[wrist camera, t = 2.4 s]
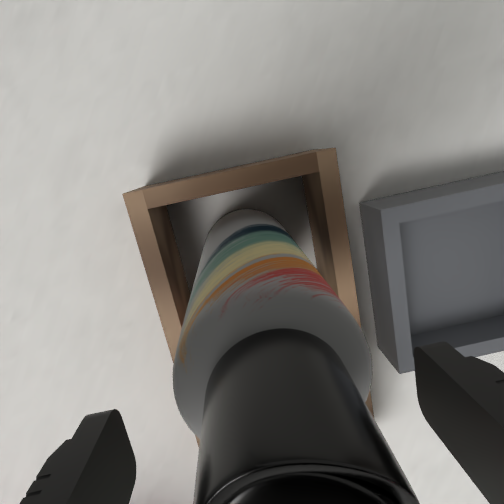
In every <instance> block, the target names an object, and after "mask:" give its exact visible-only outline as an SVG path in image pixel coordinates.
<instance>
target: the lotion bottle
mask: <svg viewBox="0 0 504 504" xmlns="http://www.w3.org/2000/svg"><path fill="white" fill-rule="evenodd" d="M371 380H372V361H371V355H370V350H369V347H368V344H367V341H366V338H365V336H364V334H363V332H362V330H361V328H360V326H359V325H358V323H357V321H356V320H355V319H354V317H353V316H352V314H351V313H350V311H349V310H348V309H347V307H346V306H345V305H344V304H343V302H342V301H341V300H340V298H339V297H338V296H337V295H336V293H335V292H334V291H333V289H332V288H331V287H330V286H329V284H328V283H327V282H326V281H325V279H324V278H323V277H322V276H321V274H320V273H319V272H318V271H317V269H316V268H315V267H314V265H313V264H312V263H311V262H310V260H309V259H308V258H307V257H306V255H305V254H304V253H303V252H302V250H301V249H300V248H299V247H298V245H297V244H296V243H295V242H294V240H293V239H292V238H291V236H290V235H289V234H288V233H287V231H286V230H285V229H284V228H283V227H282V225H281V224H280V223H279V222H278V221H277V220H275V219H274V218H273V217H271V216H270V215H268V214H266V213H264V212H261V211H258V210H252V209H243V210H237V211H234V212H231V213H229V214H227V215H225V216H224V217H222V218H221V219H220V220H218V221H217V222H216V224H215V225H214V226H213V227H212V229H211V230H210V232H209V234H208V236H207V239H206V241H205V245H204V248H203V252H202V255H201V259H200V263H199V266H198V270H197V274H196V278H195V281H194V285H193V289H192V292H191V296H190V300H189V303H188V307H187V311H186V314H185V318H184V322H183V325H182V329H181V333H180V337H179V341H178V345H177V349H176V354H175V360H174V365H173V389H174V395H175V400H176V403H177V406H178V409H179V411H180V414H181V415H182V417H183V419H184V421H185V422H186V424H187V425H188V427H189V428H190V429H191V430H192V432H193V433H194V434H195V435H196V436H197V437H198V438H199V439H200V445H199V455H198V464H197V473H196V482H195V492H194V501H193V504H419V501H418V499H417V497H416V495H415V493H414V491H413V489H412V487H411V485H410V483H409V481H408V480H407V478H406V476H405V474H404V472H403V471H402V469H401V467H400V465H399V463H398V461H397V460H396V458H395V456H394V454H393V452H392V451H391V449H390V447H389V445H388V443H387V441H386V440H385V438H384V436H383V434H382V432H381V431H380V429H379V427H378V425H377V423H376V421H375V420H374V418H373V416H372V414H371V412H370V411H369V409H368V407H367V405H366V403H365V402H366V400H367V397H368V394H369V391H370V386H371Z"/></svg>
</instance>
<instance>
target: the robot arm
mask: <svg viewBox="0 0 504 504" xmlns="http://www.w3.org/2000/svg"><path fill="white" fill-rule="evenodd" d="M414 365H415V376H416V386H417V396H418V402H419V405H420V408H421V411H422V413H423V415H424V417H425V419H426V421H427V422H428V424H429V425H430V426H431V428H432V429H433V430H434V431H435V433H436V434H437V435H438V437H439V438H440V439H441V441H442V442H443V443H444V444H445V446H446V447H447V448H448V450H449V451H450V452H451V454H452V455H453V456H454V458H455V459H456V460H457V461H458V463H459V464H460V465H461V467H462V468H463V469H464V471H465V472H466V473H467V474H468V476H469V477H470V478H471V480H472V481H473V482H474V484H475V485H476V486H477V487H478V489H479V490H480V491H481V493H482V494H483V495H484V497H485V498H486V499H487V501H488V502H489V503H490V504H504V372H502V371H501V370H500V369H498V368H497V367H496V366H494V365H493V364H490V363H488V362H485V361H483V360H480V359H478V358H476V357H473V356H469V357H464V356H463V355H462V354H461V353H459V352H458V351H457V350H456V349H455V348H453V347H452V346H451V345H450V344H448V343H447V342H445V341H442V342H437V343H433V344H428V345H423V346H418V347H415V349H414ZM135 480H136V461H135V456H134V453H133V450H132V447H131V444H130V441H129V438H128V435H127V432H126V429H125V426H124V423H123V420H122V417H121V414H120V412H119V411H118V410H116V409H114V410H109V411H104V412H99V413H94V414H90V415H87V416H85V417H84V419H83V420H82V422H81V424H80V425H79V427H78V429H77V430H76V432H75V434H74V436H73V437H72V439H69V440H66V441H65V442H64V443H63V444H62V445H61V446H60V447H59V448H58V449H57V450H56V451H55V452H54V453H53V454H52V455H51V456H50V457H49V458H48V459H47V461H46V462H45V464H44V465H43V467H42V469H41V470H40V472H39V473H38V475H37V477H36V481H33V483H32V485H31V486H30V488H29V490H28V491H27V493H26V497H25V498H23V499H22V501H21V502H20V504H129V501H130V498H131V495H132V491H133V488H134V484H135Z"/></svg>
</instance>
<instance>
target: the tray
mask: <svg viewBox="0 0 504 504" xmlns="http://www.w3.org/2000/svg"><path fill="white" fill-rule="evenodd" d="M359 205H360V212H361V220H362V228H363V235H364V243H365V251H366V258H367V266H368V274H369V281H370V289H371V297H372V305H373V312H374V320H375V328H376V335H377V343H378V348H379V349H380V350H381V351H382V353H383V354H384V355H385V356H386V358H387V359H388V360H389V361H390V363H391V364H392V365H393V366H394V368H395V369H396V370H397V371H398V373H399V374H401V373H406V372H410V371H415V365H414V349H415V347H418V346H423V345H428V344H433V343H437V342H442V341H445V342H447V343H448V344H450V345H451V346H452V347H453V348H455V349H456V350H457V351H458V352H459V353H461V354H462V355H463V356H464V357H469V356H473V357H478V356H482V355H487V354H491V353H496V352H500V351H504V171H502V172H498V173H493V174H489V175H484V176H480V177H475V178H470V179H466V180H461V181H457V182H452V183H447V184H443V185H438V186H434V187H429V188H425V189H420V190H415V191H411V192H406V193H402V194H397V195H393V196H388V197H383V198H379V199H374V200H370V201H365V202H360V203H359Z"/></svg>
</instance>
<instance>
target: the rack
mask: <svg viewBox="0 0 504 504" xmlns="http://www.w3.org/2000/svg"><path fill="white" fill-rule="evenodd" d="M297 176H302V180H303V186H304V192H305V198H306V204H307V210H308V216H309V222H310V228H311V234H312V240H313V245H314V251H315V257H316V263H317V269H318V272H319V273H320V274H321V276H322V277H323V278H324V279H325V281H326V282H327V283H328V284H329V286H330V287H331V288H332V289H333V291H334V292H335V293H336V295H337V296H338V297H339V298H340V300H341V301H342V302H343V304H344V305H345V306H346V307H347V309H348V310H349V311H350V313H351V314H352V316H353V317H354V319H355V320H356V321H357V323H358V325H359V326H360V328H361V323H360V316H359V309H358V302H357V295H356V288H355V281H354V274H353V267H352V260H351V253H350V246H349V239H348V232H347V225H346V217H345V210H344V203H343V196H342V189H341V182H340V175H339V168H338V161H337V154H336V148H327V149H316V150H310V151H305V152H301V153H296V154H292V155H287V156H282V157H278V158H273V159H268V160H264V161H259V162H255V163H250V164H245V165H241V166H236V167H232V168H227V169H222V170H218V171H213V172H208V173H204V174H199V175H195V176H190V177H185V178H181V179H176V180H172V181H167V182H162V183H158V184H153V185H149V186H144V187H141V188H138V189H135V190H132V191H130V192H127V193H124V194H123V197H124V201H125V204H126V207H127V211H128V214H129V217H130V221H131V224H132V227H133V231H134V234H135V237H136V241H137V244H138V247H139V250H140V254H141V257H142V260H143V264H144V267H145V270H146V274H147V277H148V280H149V284H150V287H151V290H152V294H153V297H154V300H155V304H156V307H157V310H158V313H159V317H160V320H161V323H162V327H163V330H164V333H165V337H166V340H167V343H168V347H169V350H170V353H171V357H172V360H173V363H174V360H175V354H176V349H177V345H178V341H179V337H180V333H181V329H182V325H183V322H184V318H185V314H186V311H187V307H188V303H189V300H190V296H191V295H190V292H189V288H188V284H187V281H186V277H185V273H184V269H183V266H182V262H181V258H180V255H179V251H178V247H177V244H176V240H175V236H174V233H173V229H172V225H171V222H170V218H169V214H168V211H167V207H166V205H169V204H173V203H178V202H182V201H187V200H192V199H196V198H201V197H205V196H210V195H215V194H219V193H224V192H228V191H233V190H238V189H242V188H247V187H251V186H256V185H261V184H265V183H270V182H274V181H279V180H284V179H288V178H293V177H297ZM365 403H366V405H367V407H368V409H369V411H370V412H371V414H372V416H373V418H374V415H373V408H372V401H371V394H370V391H369V394H368V397H367V400H366V402H365ZM195 436H196V435H195ZM196 439H197V443H198V446H199V445H200V439H199V438H198V437H197V436H196Z"/></svg>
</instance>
